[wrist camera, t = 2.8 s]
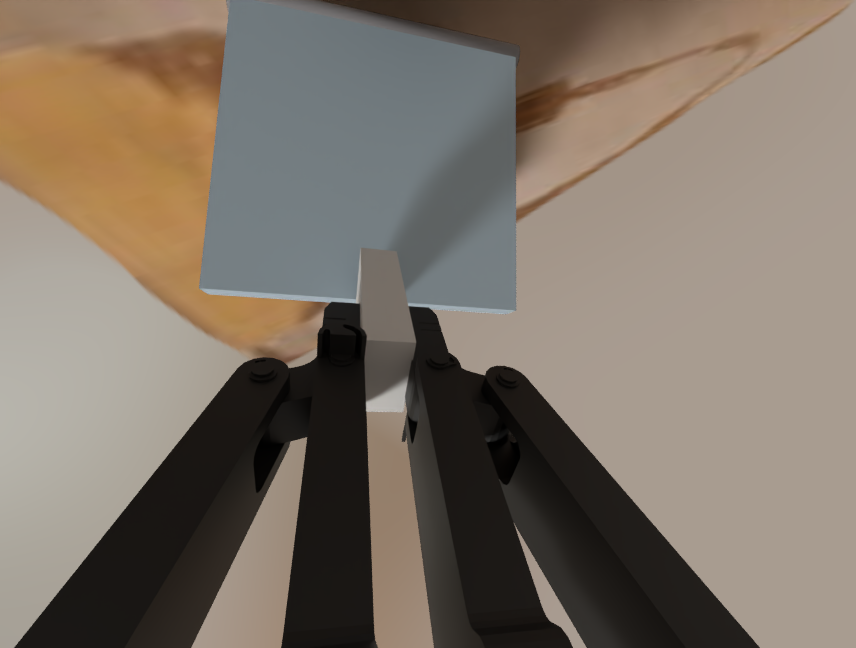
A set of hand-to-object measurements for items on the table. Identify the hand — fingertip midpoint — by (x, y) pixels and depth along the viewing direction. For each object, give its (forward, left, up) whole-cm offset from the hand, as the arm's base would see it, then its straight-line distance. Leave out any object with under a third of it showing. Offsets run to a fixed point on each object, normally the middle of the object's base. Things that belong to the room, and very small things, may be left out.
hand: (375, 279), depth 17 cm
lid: (-3, 0, -6) cm, 7 cm away
